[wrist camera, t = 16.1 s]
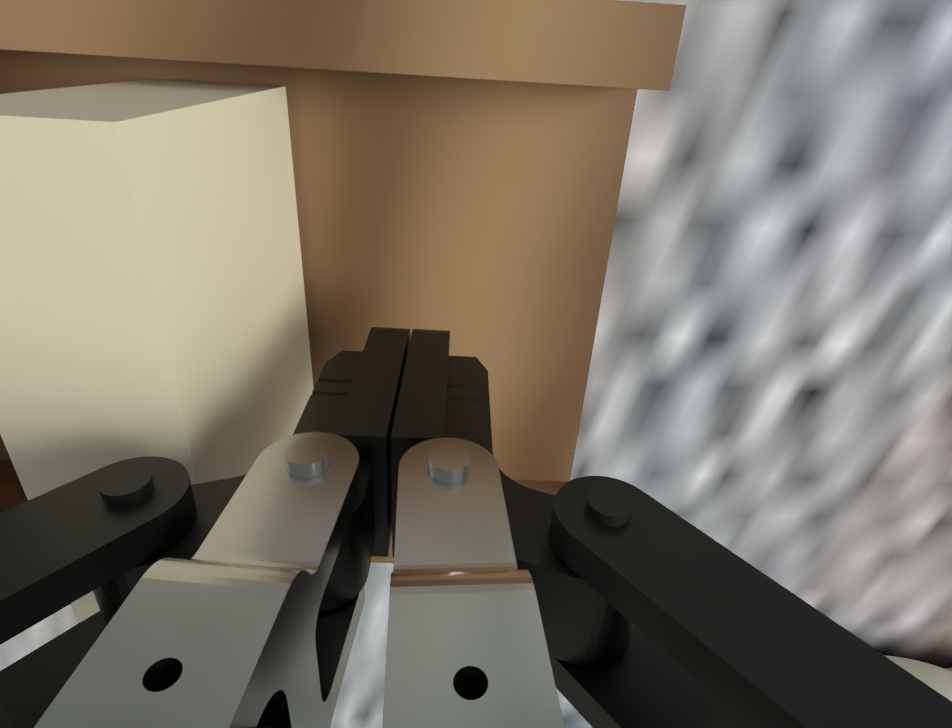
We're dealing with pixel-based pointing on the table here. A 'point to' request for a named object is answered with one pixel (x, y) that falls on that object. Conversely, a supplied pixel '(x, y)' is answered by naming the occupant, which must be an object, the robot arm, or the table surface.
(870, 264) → the table surface
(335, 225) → the book rack
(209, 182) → the bookend
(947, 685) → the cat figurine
